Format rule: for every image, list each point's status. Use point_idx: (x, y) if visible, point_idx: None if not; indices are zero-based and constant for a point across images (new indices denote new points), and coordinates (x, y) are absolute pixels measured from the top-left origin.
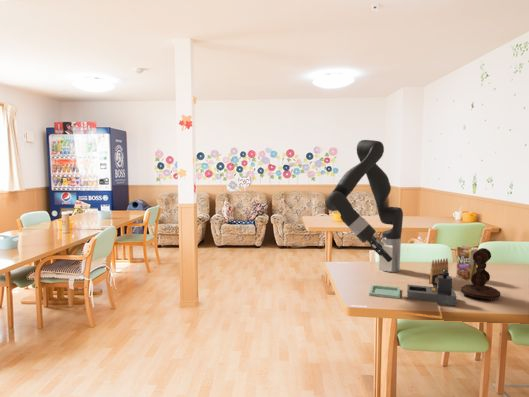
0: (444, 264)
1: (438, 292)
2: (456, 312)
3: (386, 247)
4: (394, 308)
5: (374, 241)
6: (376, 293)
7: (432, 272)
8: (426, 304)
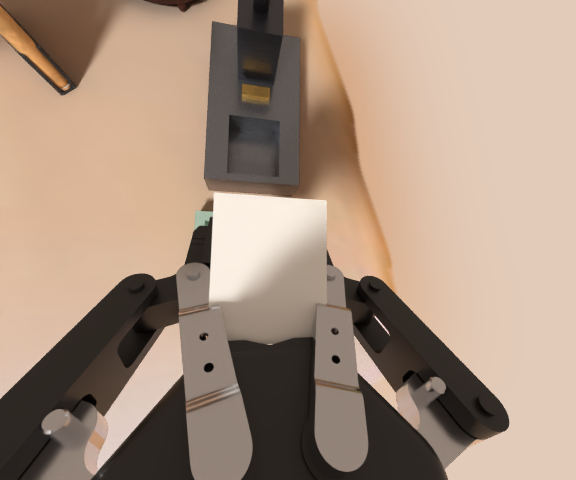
0: None
1: (274, 83)
2: (340, 77)
3: (325, 262)
4: (367, 235)
5: (428, 448)
6: None
7: (23, 34)
8: (302, 143)
